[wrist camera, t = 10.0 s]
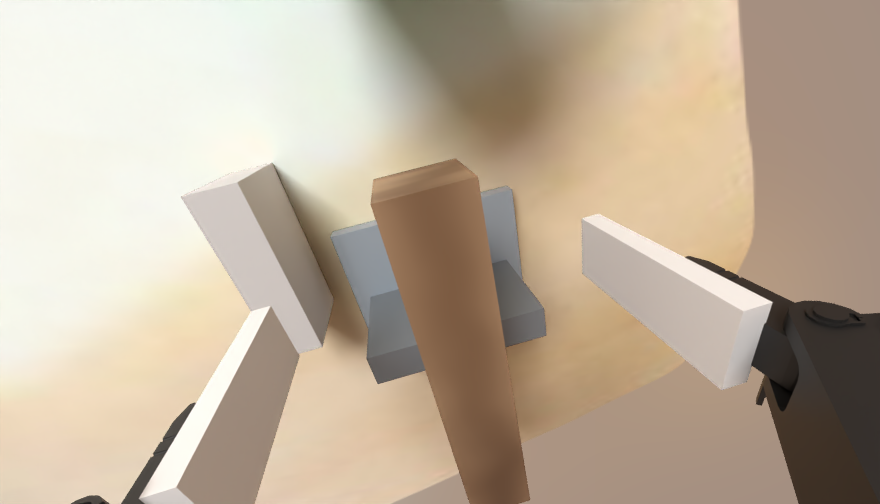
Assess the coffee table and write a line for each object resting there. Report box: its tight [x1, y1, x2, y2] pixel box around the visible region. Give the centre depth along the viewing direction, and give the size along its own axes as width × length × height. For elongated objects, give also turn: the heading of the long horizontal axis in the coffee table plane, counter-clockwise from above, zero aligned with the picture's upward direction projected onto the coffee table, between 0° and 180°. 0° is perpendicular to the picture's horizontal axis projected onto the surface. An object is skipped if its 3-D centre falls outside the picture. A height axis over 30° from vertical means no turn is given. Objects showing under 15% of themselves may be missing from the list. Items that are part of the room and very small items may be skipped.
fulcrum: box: [330, 186, 546, 384], centre depth 21 cm, size 12×12×7 cm
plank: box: [371, 159, 530, 504], centre depth 16 cm, size 4×20×4 cm, turn 13°
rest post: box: [181, 163, 334, 354], centre depth 19 cm, size 2×10×5 cm, turn 13°
